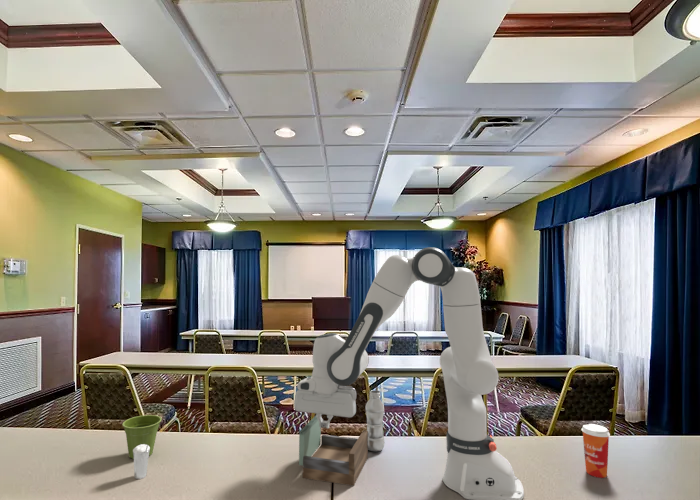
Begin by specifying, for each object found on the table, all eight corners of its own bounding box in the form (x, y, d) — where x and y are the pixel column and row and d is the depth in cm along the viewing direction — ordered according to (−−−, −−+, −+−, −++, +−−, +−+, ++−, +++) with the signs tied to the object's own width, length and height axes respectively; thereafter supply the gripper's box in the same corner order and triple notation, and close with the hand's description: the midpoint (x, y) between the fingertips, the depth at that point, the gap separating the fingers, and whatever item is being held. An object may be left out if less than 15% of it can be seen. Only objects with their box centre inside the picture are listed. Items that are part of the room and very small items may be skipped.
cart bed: (367, 458, 136) (367, 430, 136) (354, 485, 118) (354, 454, 119) (322, 452, 140) (322, 425, 140) (302, 477, 122) (303, 447, 123)
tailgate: (320, 444, 139) (320, 414, 139) (303, 465, 124) (303, 432, 124) (316, 444, 139) (316, 414, 140) (298, 465, 124) (299, 431, 125)
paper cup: (576, 470, 129) (575, 425, 129) (593, 465, 132) (592, 421, 132) (600, 482, 121) (599, 434, 122) (617, 477, 124) (616, 430, 125)
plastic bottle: (383, 454, 138) (383, 395, 139) (363, 452, 140) (364, 393, 141) (385, 446, 145) (385, 389, 146) (366, 445, 146) (367, 388, 147)
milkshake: (139, 482, 119) (140, 447, 119) (128, 477, 122) (130, 443, 122) (153, 476, 123) (154, 442, 123) (143, 471, 126) (144, 438, 126)
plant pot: (126, 466, 128) (127, 430, 129) (117, 454, 137) (118, 420, 138) (165, 455, 136) (166, 421, 137) (154, 444, 145) (155, 412, 146)
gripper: (358, 384, 132) (358, 427, 131) (300, 378, 137) (299, 420, 136) (354, 389, 126) (353, 435, 125) (292, 383, 131) (291, 427, 130)
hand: (324, 427), depth 131 cm, fingers closed
